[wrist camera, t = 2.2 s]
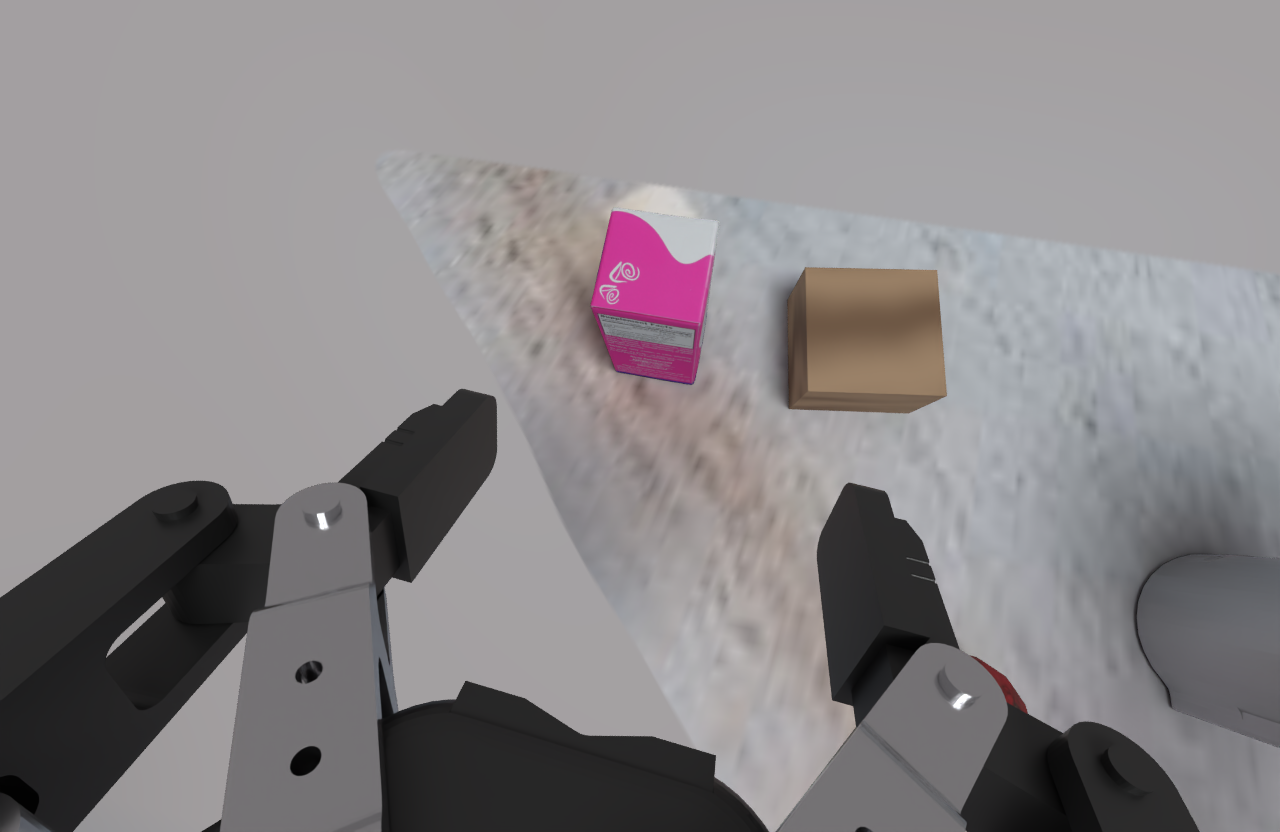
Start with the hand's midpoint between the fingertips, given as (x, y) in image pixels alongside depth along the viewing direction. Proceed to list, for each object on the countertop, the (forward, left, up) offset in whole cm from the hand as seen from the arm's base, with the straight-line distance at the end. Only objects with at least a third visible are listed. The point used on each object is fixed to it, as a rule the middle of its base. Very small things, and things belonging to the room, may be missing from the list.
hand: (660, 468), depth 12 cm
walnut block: (+11, -12, -23) cm, 28 cm away
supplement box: (+11, +1, -23) cm, 26 cm away
